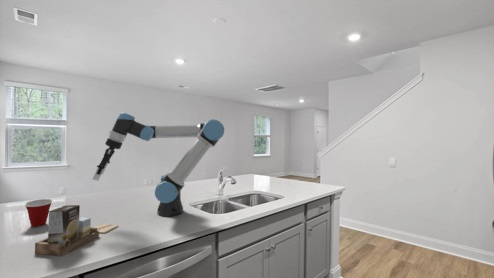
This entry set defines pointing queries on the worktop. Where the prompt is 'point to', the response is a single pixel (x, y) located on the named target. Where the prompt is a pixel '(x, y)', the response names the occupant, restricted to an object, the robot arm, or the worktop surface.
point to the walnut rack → (57, 249)
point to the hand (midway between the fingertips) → (97, 176)
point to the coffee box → (64, 225)
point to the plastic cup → (38, 211)
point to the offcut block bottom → (84, 235)
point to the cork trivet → (105, 228)
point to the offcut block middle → (84, 230)
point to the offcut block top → (84, 222)
